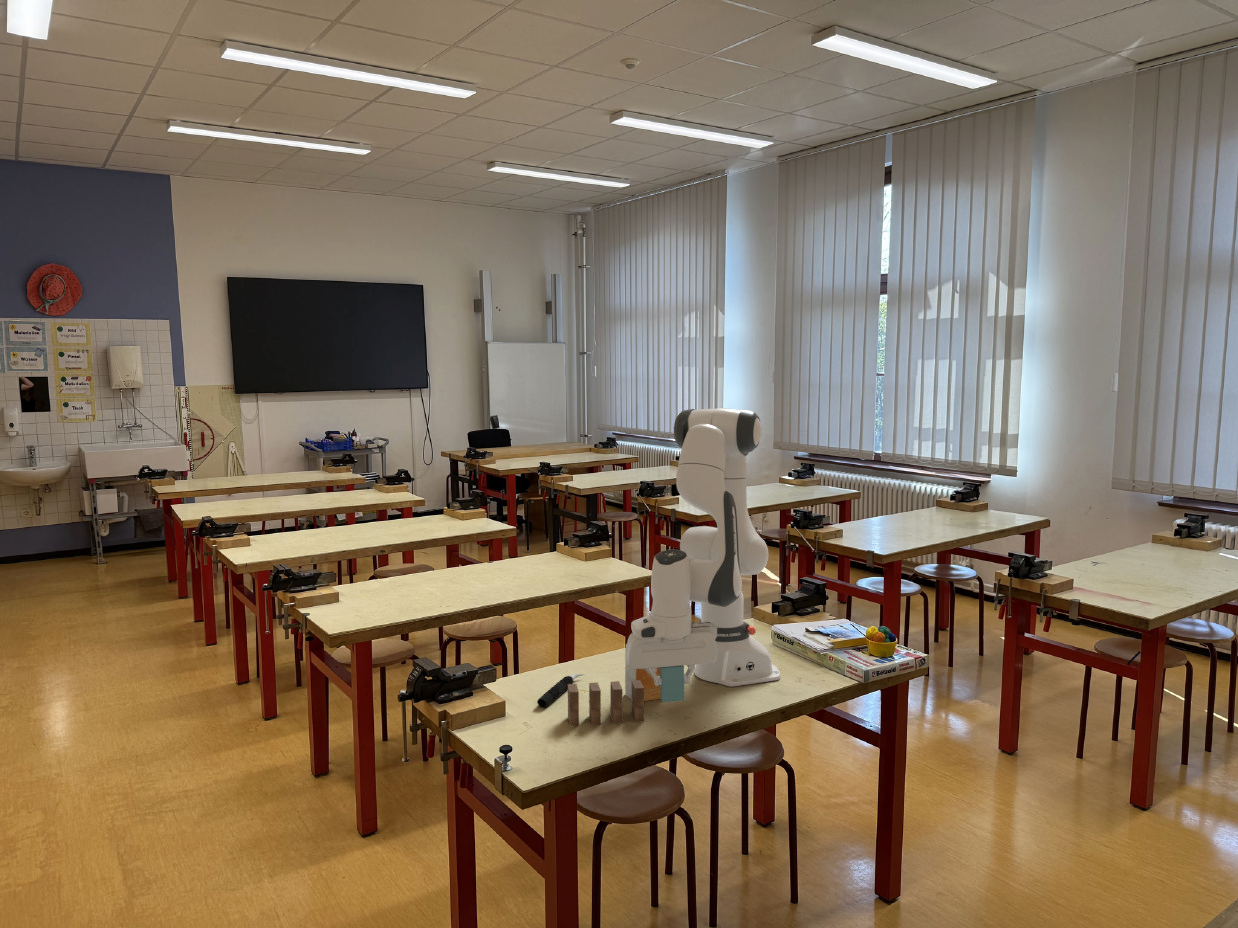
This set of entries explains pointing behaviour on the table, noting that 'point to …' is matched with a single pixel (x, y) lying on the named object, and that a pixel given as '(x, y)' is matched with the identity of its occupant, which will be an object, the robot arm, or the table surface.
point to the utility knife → (556, 690)
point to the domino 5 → (672, 683)
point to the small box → (646, 679)
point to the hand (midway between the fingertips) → (672, 683)
